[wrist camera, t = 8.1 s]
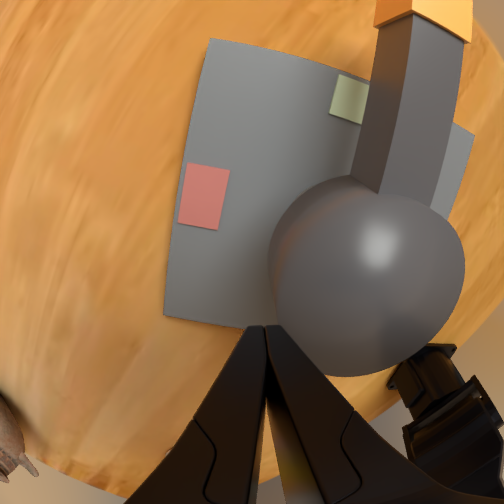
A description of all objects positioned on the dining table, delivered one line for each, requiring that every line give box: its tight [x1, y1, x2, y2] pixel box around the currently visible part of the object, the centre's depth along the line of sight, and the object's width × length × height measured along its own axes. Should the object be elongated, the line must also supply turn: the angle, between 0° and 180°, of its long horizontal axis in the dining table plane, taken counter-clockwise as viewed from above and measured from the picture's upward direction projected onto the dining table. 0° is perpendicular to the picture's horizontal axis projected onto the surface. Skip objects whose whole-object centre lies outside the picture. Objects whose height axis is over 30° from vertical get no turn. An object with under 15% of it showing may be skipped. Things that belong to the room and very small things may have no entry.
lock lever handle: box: [268, 0, 472, 377], centre depth 11 cm, size 17×8×4 cm, turn 170°
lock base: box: [163, 38, 475, 329], centre depth 17 cm, size 18×18×6 cm
